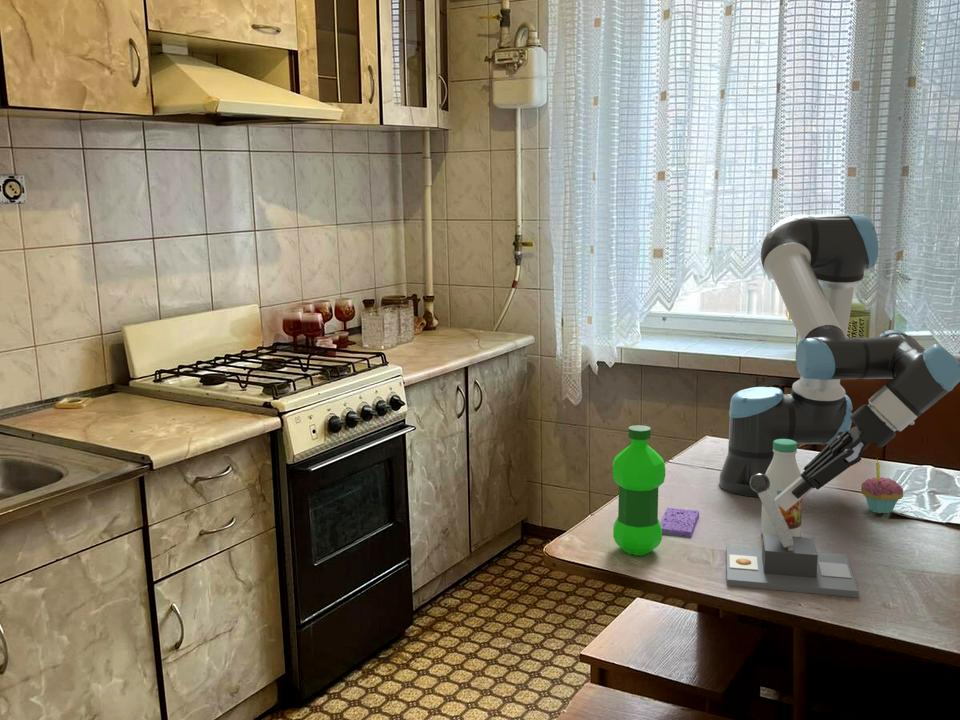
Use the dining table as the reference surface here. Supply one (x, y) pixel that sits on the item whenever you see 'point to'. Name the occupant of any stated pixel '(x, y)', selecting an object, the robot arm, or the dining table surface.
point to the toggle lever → (771, 508)
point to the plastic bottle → (638, 494)
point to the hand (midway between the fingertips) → (780, 504)
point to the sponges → (679, 521)
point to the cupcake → (881, 493)
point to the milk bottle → (783, 485)
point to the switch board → (790, 580)
